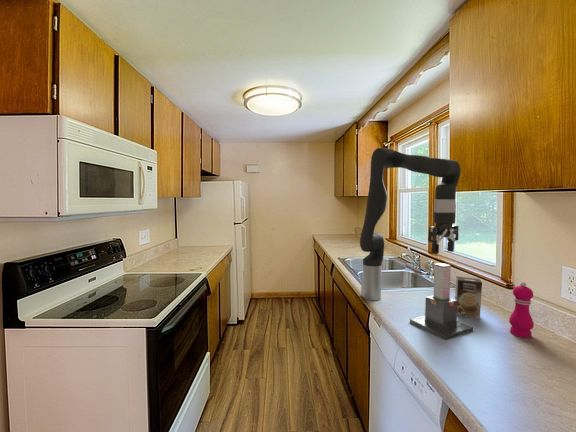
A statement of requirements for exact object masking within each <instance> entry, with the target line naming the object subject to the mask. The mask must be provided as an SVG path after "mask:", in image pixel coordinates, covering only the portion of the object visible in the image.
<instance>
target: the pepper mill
mask: <svg viewBox="0 0 576 432" xmlns="http://www.w3.org/2000/svg"><path fill="white" fill-rule="evenodd" d="M519 284H520V285H516V286H515V287H513V289H512V295H513V296H514V297H513V302H514V309H513V311H512V313H511V314H510V316H509V319H508V322H509V325H511V326H510V328H509V329H510V331H509V332H510V334H512V335H514V336H516V337H519V338H525V339H530V338H532V331H531V330H532V329H534V327H535V325H534V320H533V318H532V316H531V313H530V312H531V311H530V306H531V305H532V303H531V302H532V300H531V299H533V298H534V292H533V289H531V288H530V287H528V286H527V283H526V282H524V281H522V282H520V283H519Z"/></svg>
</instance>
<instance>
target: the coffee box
mask: <svg viewBox="0 0 576 432" xmlns="http://www.w3.org/2000/svg"><path fill="white" fill-rule="evenodd" d="M482 288H483V282H482V280H481V279H480V278H473V277H466V276H456V277H455V296H454V299H455V300H458V305H457V317H464V318H469V319H476V320H480V319H481V310H482V309H481V307H482V292H483V291H482V290H483V289H482Z"/></svg>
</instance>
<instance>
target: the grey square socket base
mask: <svg viewBox="0 0 576 432" xmlns="http://www.w3.org/2000/svg"><path fill="white" fill-rule="evenodd" d="M433 296H434V294H433V295H428V296H425V304H424V305H425V307H424V315H421V316H416V317H413V318H409V323H410V324H412V325H414V326H416V327H419V329H422V330H423V331H427V332H428V333H430V334H433V335H434V336H437V337H439V338H440V339H443V340H445V341H446V340H449V339H453V338H456V337H458V336H462V335H466V334H468V333H471V332H472V333H473V332H474V327H473V326H471V325H468V324H465V323H464V322H461V321H459V320H458V316H457V305H458V300H455V298H452V297H450V299H449V300H448V301H440V300H437V299H434V298H433Z"/></svg>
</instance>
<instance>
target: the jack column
mask: <svg viewBox="0 0 576 432" xmlns="http://www.w3.org/2000/svg"><path fill="white" fill-rule="evenodd" d="M451 268H452V265H451V264H447V263H443V262H441V263H440V262H439V263H434V273H433V275H434V276H433V295H434V296H433V298H434V299H437V300H440V301H448V300H449V299H450V298H451V271H452V269H451Z"/></svg>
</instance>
